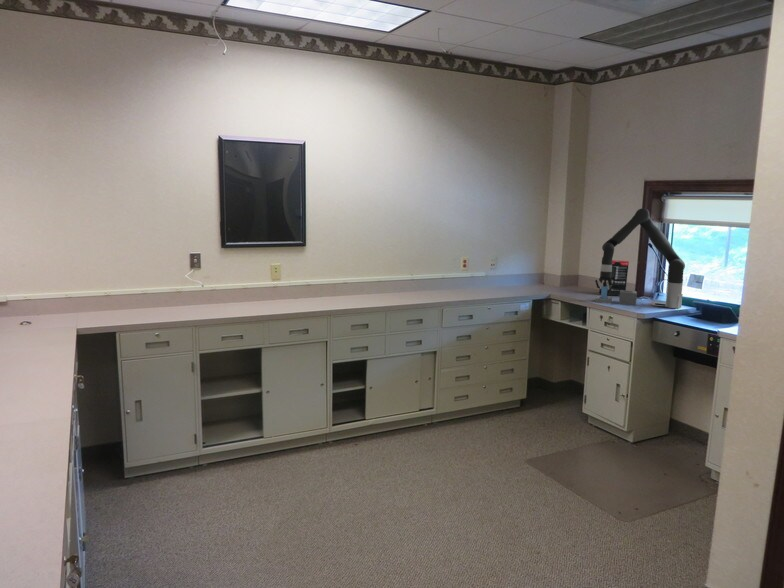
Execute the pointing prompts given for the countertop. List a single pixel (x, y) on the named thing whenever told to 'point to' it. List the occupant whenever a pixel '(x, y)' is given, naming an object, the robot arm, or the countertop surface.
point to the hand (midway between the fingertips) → (604, 294)
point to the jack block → (622, 298)
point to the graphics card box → (618, 277)
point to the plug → (604, 292)
